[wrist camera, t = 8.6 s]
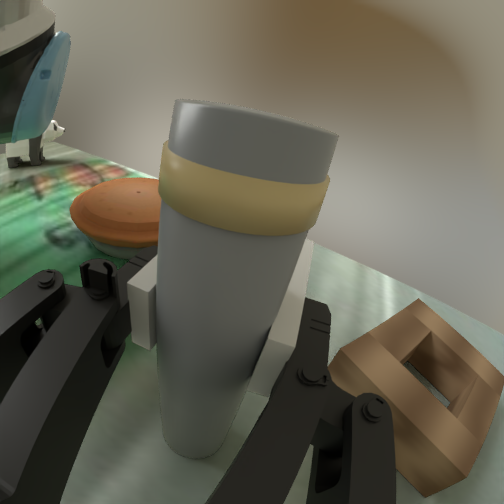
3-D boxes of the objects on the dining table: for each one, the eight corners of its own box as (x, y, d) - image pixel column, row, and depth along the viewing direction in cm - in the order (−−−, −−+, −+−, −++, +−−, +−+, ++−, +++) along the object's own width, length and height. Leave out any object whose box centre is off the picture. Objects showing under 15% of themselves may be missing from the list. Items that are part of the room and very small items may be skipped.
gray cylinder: (151, 414, 14) (151, 95, 6) (207, 397, 16) (274, 112, 8) (178, 468, 11) (219, 114, 3) (238, 445, 14) (376, 149, 5)
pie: (230, 251, 32) (239, 210, 29) (95, 292, 21) (89, 242, 19) (163, 198, 40) (167, 166, 37) (62, 217, 29) (59, 180, 27)
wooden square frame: (316, 382, 19) (340, 348, 17) (399, 327, 26) (418, 298, 24) (425, 497, 10) (466, 477, 8) (479, 403, 17) (505, 377, 15)
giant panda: (3, 169, 38) (2, 124, 34) (11, 161, 42) (11, 120, 38) (61, 163, 45) (63, 117, 40) (66, 156, 49) (68, 114, 44)
